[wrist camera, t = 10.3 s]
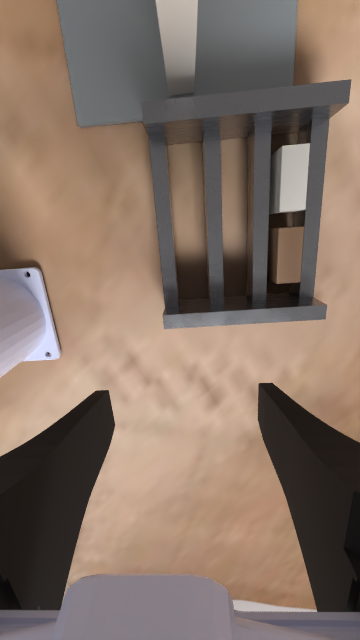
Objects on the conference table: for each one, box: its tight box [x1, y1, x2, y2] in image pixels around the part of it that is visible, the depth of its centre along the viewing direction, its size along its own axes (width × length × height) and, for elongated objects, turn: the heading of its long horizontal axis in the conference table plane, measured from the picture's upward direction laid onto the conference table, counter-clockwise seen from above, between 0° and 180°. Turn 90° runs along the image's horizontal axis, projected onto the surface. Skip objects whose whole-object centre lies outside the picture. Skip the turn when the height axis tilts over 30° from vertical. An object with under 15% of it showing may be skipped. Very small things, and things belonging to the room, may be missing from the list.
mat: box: [56, 0, 298, 128], centre depth 16 cm, size 14×10×1 cm
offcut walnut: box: [267, 227, 304, 284], centre depth 19 cm, size 2×4×3 cm, turn 4°
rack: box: [141, 80, 351, 329], centre depth 18 cm, size 11×13×4 cm
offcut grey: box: [269, 143, 310, 214], centre depth 17 cm, size 2×4×3 cm, turn 5°
